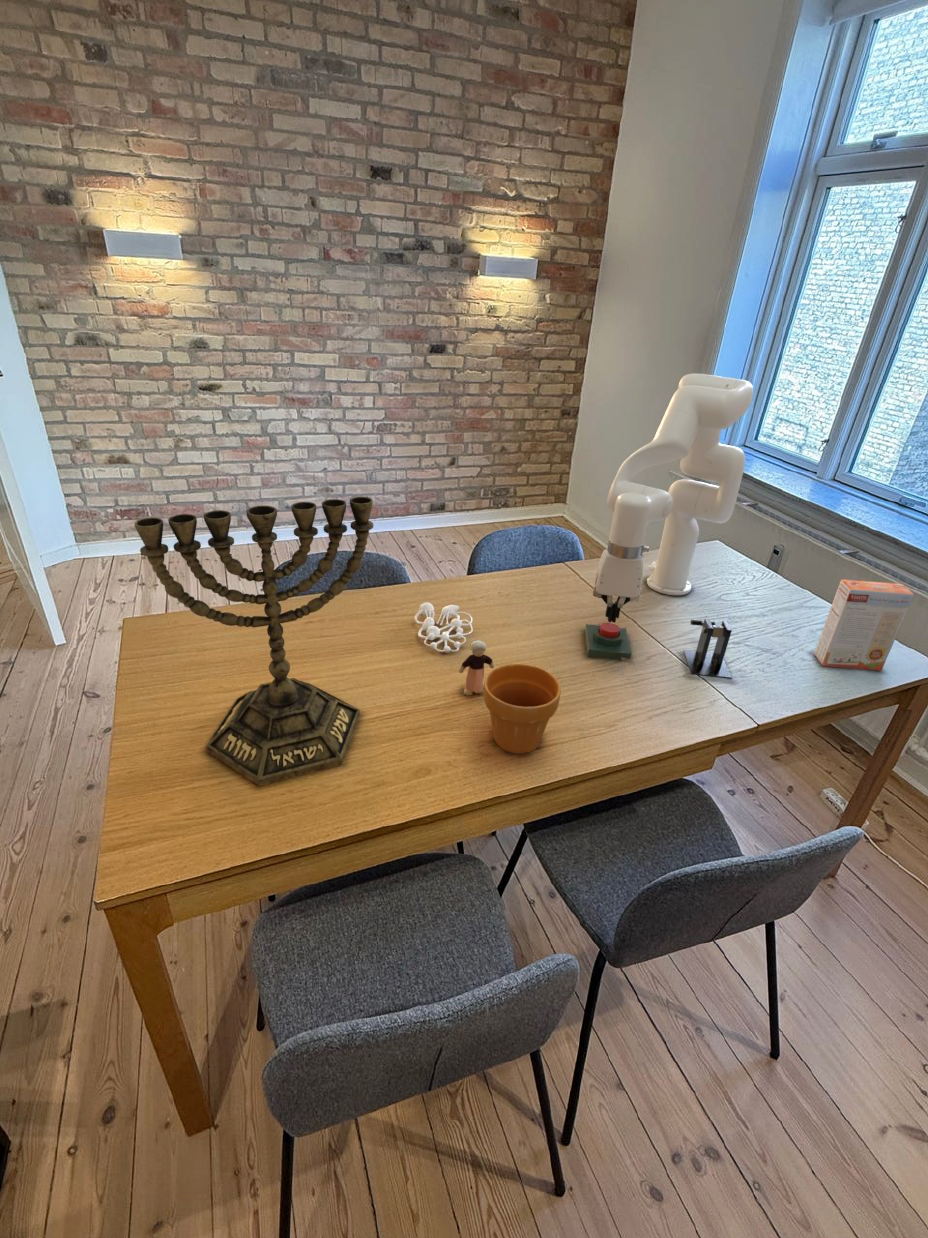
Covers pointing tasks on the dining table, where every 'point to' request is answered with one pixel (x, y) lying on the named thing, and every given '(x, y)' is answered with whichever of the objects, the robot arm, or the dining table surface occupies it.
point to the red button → (609, 630)
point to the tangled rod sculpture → (434, 631)
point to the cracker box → (862, 624)
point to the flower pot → (520, 704)
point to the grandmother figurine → (476, 668)
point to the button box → (606, 644)
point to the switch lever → (716, 628)
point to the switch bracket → (710, 662)
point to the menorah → (285, 708)
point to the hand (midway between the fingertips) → (611, 619)
